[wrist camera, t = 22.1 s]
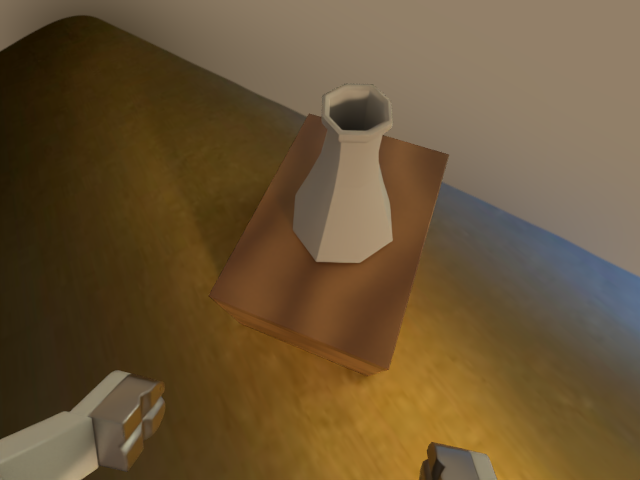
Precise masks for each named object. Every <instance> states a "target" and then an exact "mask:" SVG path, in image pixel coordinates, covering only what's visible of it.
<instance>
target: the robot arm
mask: <svg viewBox="0 0 640 480" xmlns="http://www.w3.org/2000/svg"><path fill="white" fill-rule="evenodd" d="M164 391H165V387H164V382H162V381H159V380H155V379H151V378H147V377H143V376H139V375H135V374H131V373H127V372H123V371H119V370H116V371H114V372H111V373H110V374H109V375H108V376H107V377H106V378H105V379H104V380H103V381H102V382H100V383H99V384H98V385H97V386H96V387H95V388H94V389H93V390H92V391H91V392H90V393H89V394H88V395H87V396H86V397H85V398H84V399H83V400H82V401H81V402H79V403H78V404H77V405H76V406H75V407H74V408H73V409H72V410H71V411H70V412H66V411H64V412H62V413H59V414H57V415H55V416H53V417H50V418H48V419H46V420H44V421H41V422H39V423H37V424H34V425H32V426H30V427H28V428H25V429H23V430H21V431H19V432H16V433H14V434H12V435H10V436H7V437H5V438H3V439H1V440H0V480H81V479H83V478H84V477H86V476H87V475H88V474H90V473H91V472H93V471H94V470H96V469H97V468H98V467H99V466H104V467H108V468H113V469H117V470H122V471H126V472H128V471H129V469H130V468H131V466H132V465H133V463H134V462H135V461H136V459H137V458H138V456H139V455H140V453H141V452H142V451H143V441H144V440H146V439H148V438H149V437H151V436H153V435H154V433H155V432H156V430H157V429H158V427H159V425H160V423H161V421H162V419H163V416H164V412H165V401H164V400H163V398H162V397H161V395H162V394H163V392H164ZM427 455H428V459H427V460H425V461H423V463H422V466H421V469H420V477H419V480H497V478H496V475H495V472H494V470H493V467H492V464H491V462H490V459H489V457H488V456H487V455H486V454H483V453H479V452H474V451H470V450H466V449H462V448H457V447H452V446H448V445H443V444H438V443H434V442H431V443H430V444H429V446H428V449H427ZM98 465H99V466H98Z"/></svg>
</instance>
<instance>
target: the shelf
mask: <svg viewBox="0 0 640 480" xmlns="http://www.w3.org/2000/svg"><path fill="white" fill-rule="evenodd" d="M326 133H327V128H326V127H325V126H324V125H323V124H322V121H321V117H319V116H316V115H312V114H309V115H308V116H307V118H306V120H305V122H304V124H303V125H302V127H301V129H300V131H299V133H298V134H297V136H296V138H295V140H294V142H293V144H292V145H291V147H290V149H289V151H288V153H287V154H286V156H285V158H284V160H283V162H282V163H281V165H280V167H279V169H278V171H277V173H276V174H275V176H274V178H273V180H272V182H271V183H270V185H269V187H268V189H267V191H266V192H265V194H264V196H263V198H262V200H261V202H260V203H259V205H258V207H257V209H256V211H255V212H254V214H253V216H252V218H251V220H250V221H249V223H248V225H247V227H246V229H245V231H244V232H243V234H242V236H241V238H240V240H239V241H238V243H237V245H236V247H235V249H234V250H233V252H232V254H231V256H230V258H229V260H228V261H227V263H226V265H225V267H224V269H223V270H222V272H221V274H220V276H219V278H218V280H217V281H216V283H215V285H214V287H213V289H212V290H211V292H210V294H209V297H210V298H211V299H212V300H214V301H215V302H216V303H217V304H219V305H220V306H221V307H222V308H223V309H224V310H225V311H227V312H228V313H229V314H230V315H231V316H232V317H234V318H235V319H236V320H237V321H238V322H239V323H241V324H243V325H245V326H248V327H250V328H253V329H255V330H257V331H260V332H262V333H265V334H267V335H269V336H272V337H274V338H277V339H279V340H281V341H284V342H286V343H289V344H291V345H293V346H296V347H298V348H301V349H303V350H306V351H308V352H310V353H313V354H315V355H318V356H320V357H322V358H325V359H327V360H330V361H332V362H334V363H337V364H339V365H342V366H344V367H346V368H349V369H351V370H354V371H356V372H358V373H361V374H363V375H366V376H370V375H373V374H376V373H379V372H382V371H386V370H389V367H390V364H391V360H392V356H393V353H394V349H395V346H396V342H397V339H398V335H399V332H400V328H401V324H402V321H403V317H404V314H405V310H406V307H407V303H408V300H409V296H410V293H411V289H412V285H413V282H414V278H415V275H416V271H417V268H418V264H419V261H420V257H421V254H422V250H423V246H424V243H425V239H426V236H427V232H428V229H429V225H430V222H431V218H432V215H433V211H434V207H435V204H436V200H437V197H438V193H439V190H440V186H441V183H442V179H443V176H444V172H445V168H446V165H447V161H448V158H449V155H448V154H445V153H442V152H438V151H435V150H431V149H428V148H425V147H421V146H418V145H414V144H411V143H408V142H404V141H401V140H398V139H394V138H391V137H387V136H384V135H382V139H381V144H380V148H379V165H380V170H381V174H382V178H383V182H384V185H385V188H386V192H387V195H388V198H389V202H390V209H391V223H392V238H393V241H392V242H390V243H389V244H387V245H386V246H384V247H383V248H381V249H380V250H378V251H377V252H375V253H374V254H372V255H371V256H369V257H368V258H366V259H365V260H363V261H362V262H361V263H338V262H316V261H315V260H314V258H313V257H312V255H311V254H310V253H309V251H308V250H307V249H306V247H305V246H304V245H303V243H302V242H301V241H300V239H299V238H298V237H297V235H296V234H295V233H294V231H293V219H294V207H295V195H296V193H297V191H298V190H299V188H300V187H301V185H302V184H303V182H304V181H305V179H306V178H307V176H308V175H309V173H310V171H311V169H312V168H313V166H314V164H315V162H316V161H317V159H318V157H319V155H320V154H321V151H322V148H323V144H324V141H325V137H326Z"/></svg>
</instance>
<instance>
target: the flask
mask: <svg viewBox="0 0 640 480" xmlns="http://www.w3.org/2000/svg"><path fill="white" fill-rule="evenodd" d="M321 121H322V124H323V125H324V126H325V127H326V128H327V133H326V137H325V141H324V144H323V148H322V151H321V154H320V155H319V157H318V159H317V161H316V162H315V164H314V166H313V168H312V169H311V171H310V173H309V175H308V176H307V178H306V179H305V181H304V182H303V184H302V185H301V187H300V188H299V190H298V191H297V193H296V195H295V207H294V219H293V231H294V233H295V234H296V235H297V237H298V238H299V239H300V241H301V242H302V243H303V245H304V246H305V247H306V249H307V250H308V251H309V253H310V254H311V255H312V257H313V258H314V260H315V261H316V262H338V263H361V262H362V261H363V260H365V259H366V258H368V257H369V256H371V255H372V254H374V253H375V252H377V251H378V250H380V249H381V248H383V247H384V246H386V245H387V244H389V243H390V242H392V241H393V238H392V223H391V209H390V202H389V198H388V195H387V192H386V188H385V185H384V182H383V178H382V174H381V170H380V165H379V148H380V144H381V139H382V135H383V134H384V133H385V132H387V131H389V130H390V129H391V127H392V123H393V119H392V107H391V101H390V100H389V99H388V98H387V97H386V96H385V95H384V94H383V93H382V92H381V91H380V90H379V89H377V88H376V87H375V86H374V85H373V84H344V85H342V86H340V87H338V88H336V89H334V90H332V91H330V92H328V93H326V94H324V95H323V96H322V117H321Z"/></svg>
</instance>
